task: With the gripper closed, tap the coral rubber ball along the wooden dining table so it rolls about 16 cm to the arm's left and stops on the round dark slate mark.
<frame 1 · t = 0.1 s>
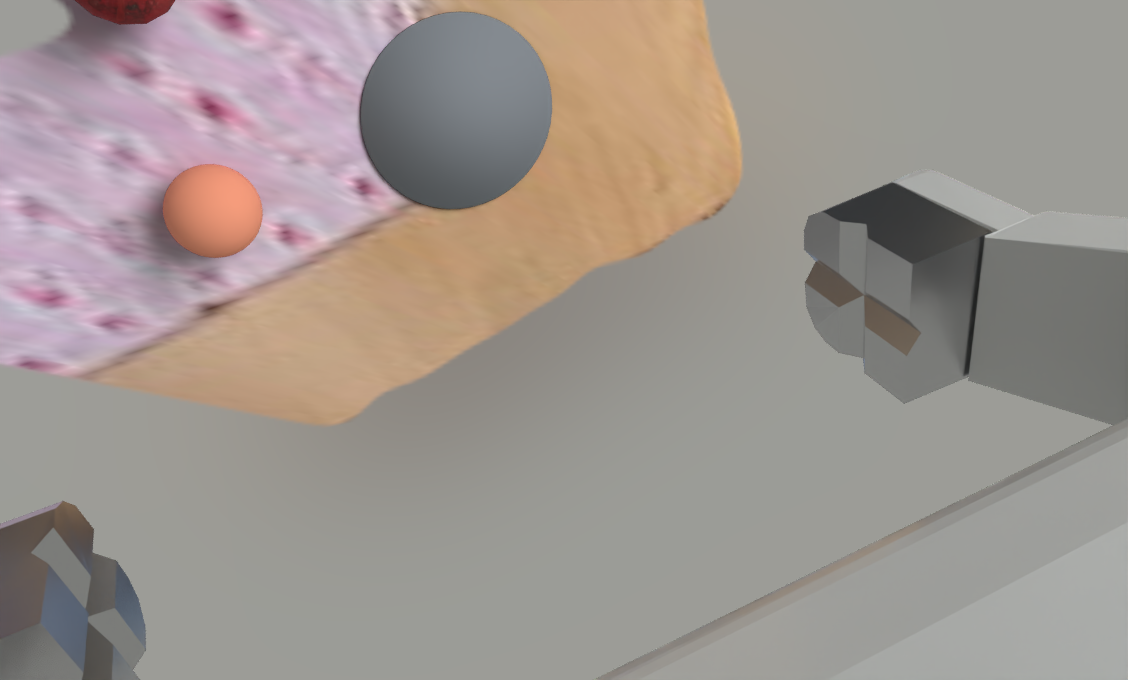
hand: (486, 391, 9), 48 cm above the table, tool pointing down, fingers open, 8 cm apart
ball: (213, 211, 52), on the table
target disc: (459, 115, 58), on the table
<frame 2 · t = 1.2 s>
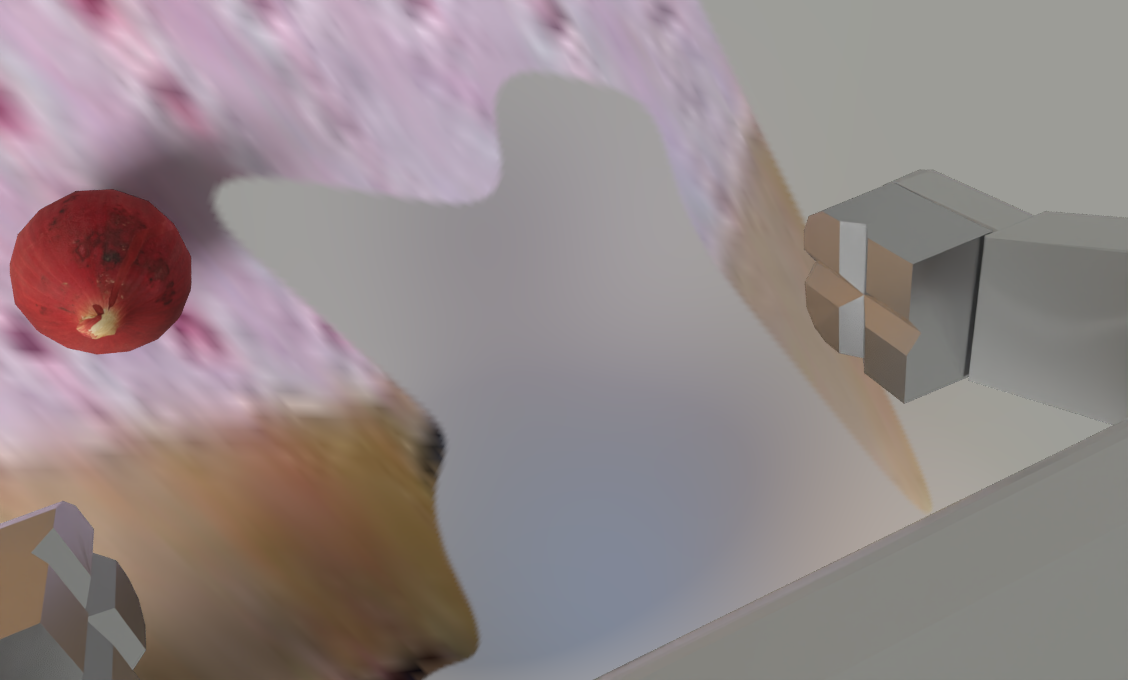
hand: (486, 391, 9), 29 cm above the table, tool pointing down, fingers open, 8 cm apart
onion: (106, 233, 35), on the table
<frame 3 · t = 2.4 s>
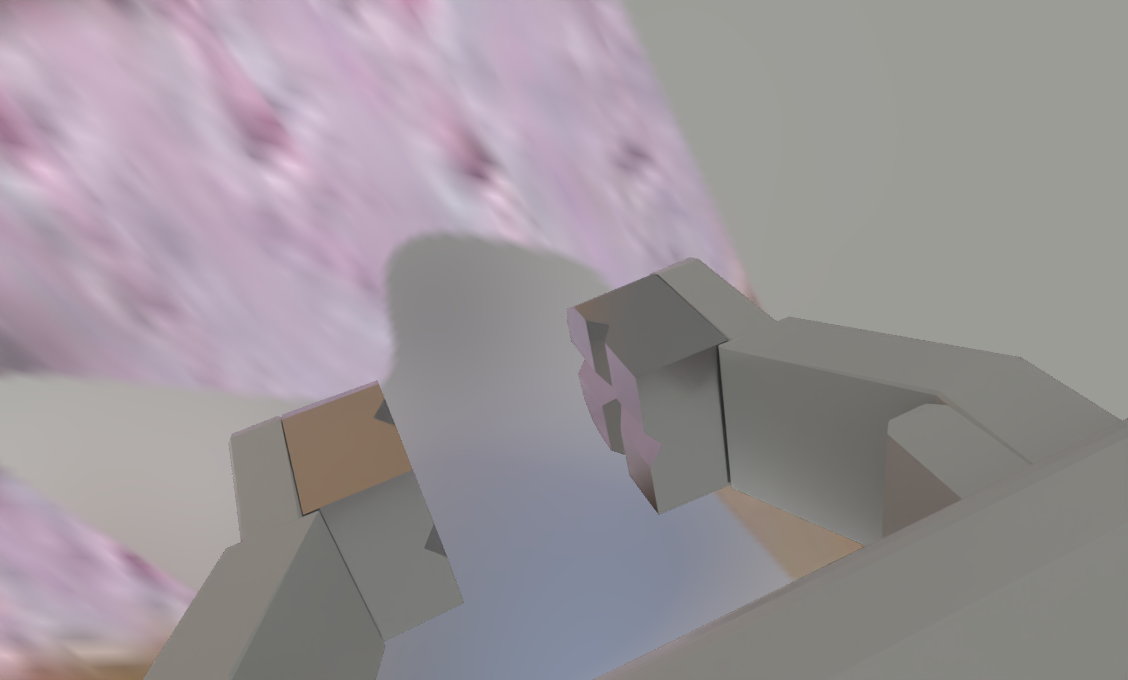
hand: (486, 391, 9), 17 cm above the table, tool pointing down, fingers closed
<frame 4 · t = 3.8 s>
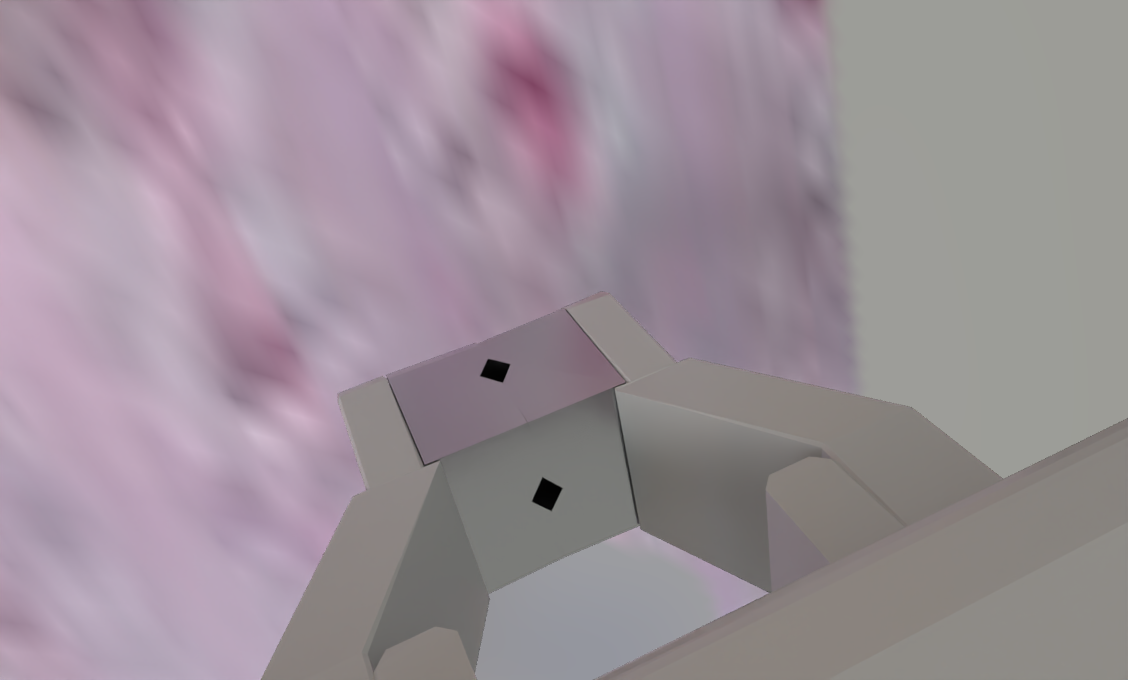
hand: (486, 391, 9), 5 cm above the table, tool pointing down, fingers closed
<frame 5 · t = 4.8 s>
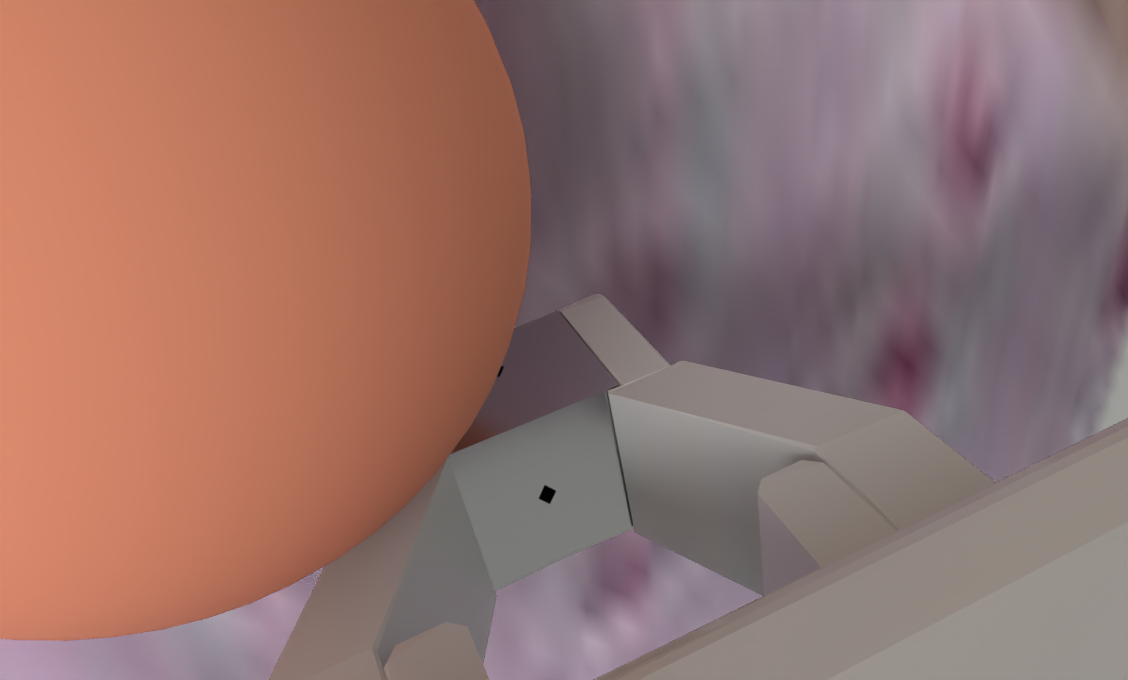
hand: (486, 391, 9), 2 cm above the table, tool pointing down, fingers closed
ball: (126, 211, 6), on the table, touching gripper
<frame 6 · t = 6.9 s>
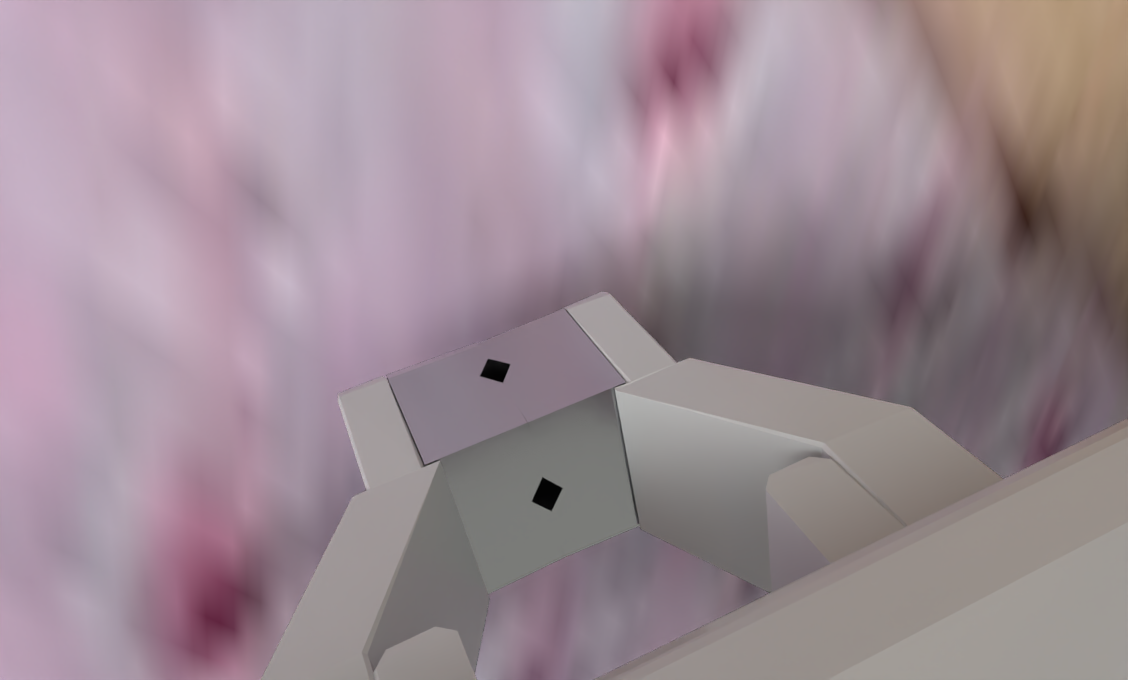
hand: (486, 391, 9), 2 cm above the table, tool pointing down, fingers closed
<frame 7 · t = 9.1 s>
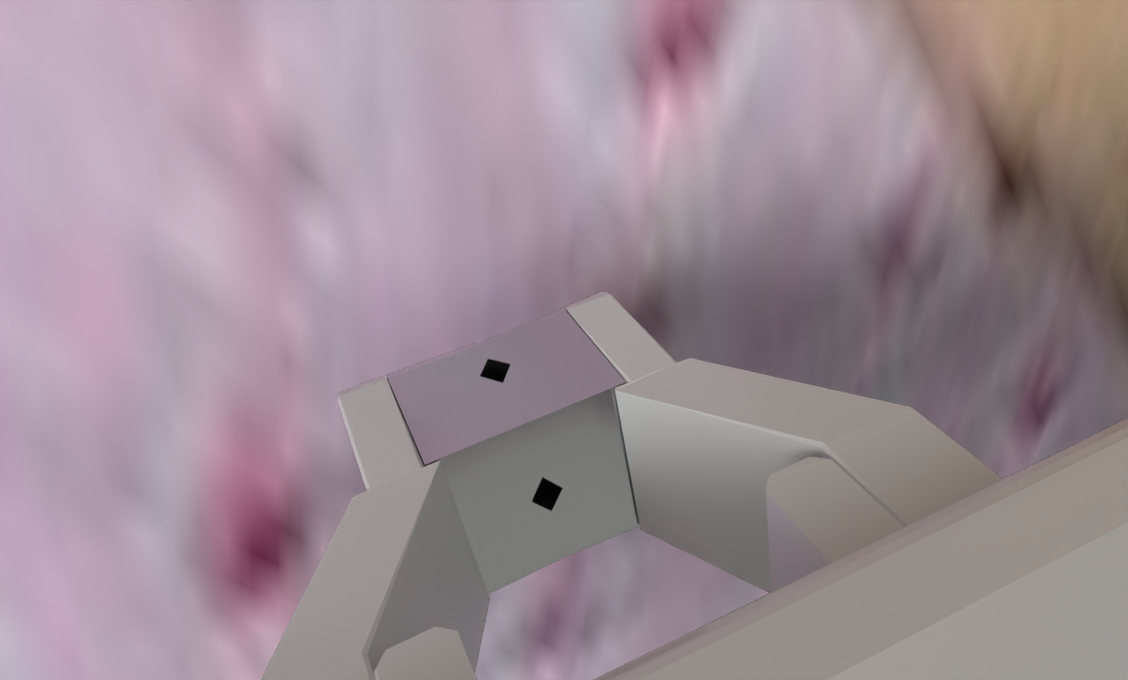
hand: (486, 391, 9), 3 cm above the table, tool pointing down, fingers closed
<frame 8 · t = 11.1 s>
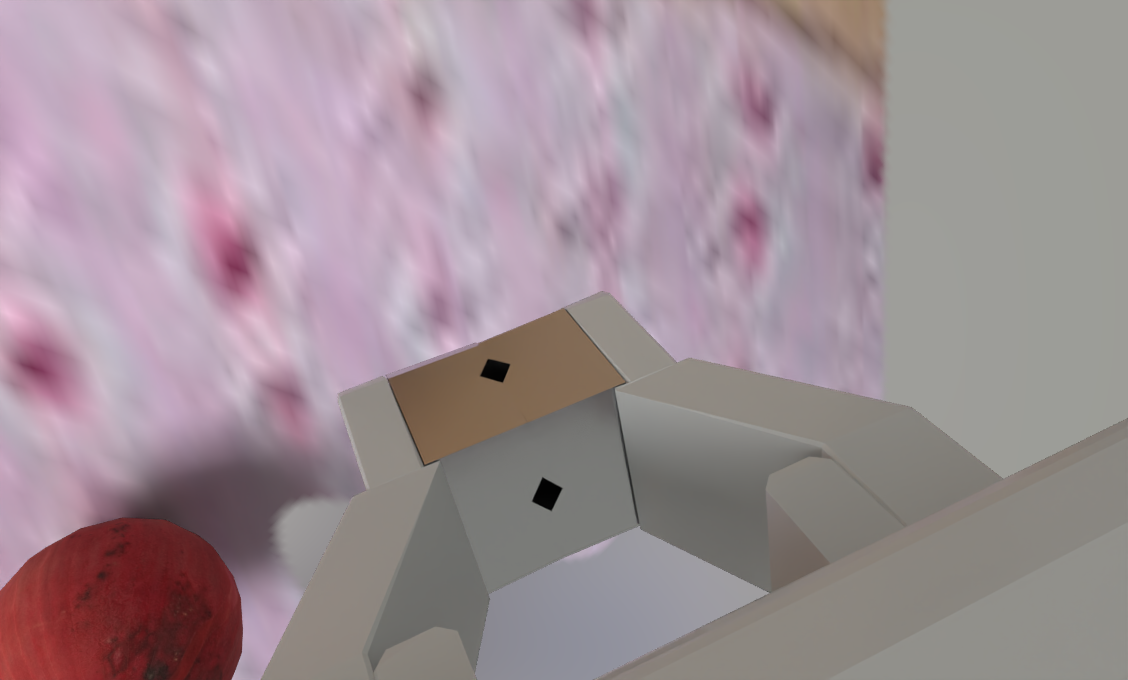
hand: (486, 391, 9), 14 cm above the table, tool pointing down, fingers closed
onion: (122, 536, 25), on the table
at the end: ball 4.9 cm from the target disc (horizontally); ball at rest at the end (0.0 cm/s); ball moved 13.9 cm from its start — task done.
